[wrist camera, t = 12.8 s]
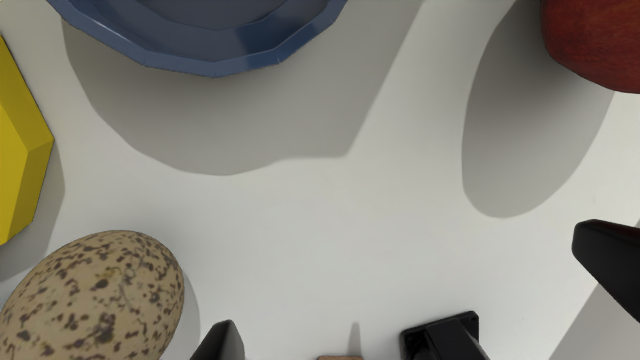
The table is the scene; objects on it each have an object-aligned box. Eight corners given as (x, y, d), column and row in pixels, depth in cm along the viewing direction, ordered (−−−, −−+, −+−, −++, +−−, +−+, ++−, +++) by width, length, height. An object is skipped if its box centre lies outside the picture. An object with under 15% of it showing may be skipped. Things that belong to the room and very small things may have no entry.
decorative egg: (189, 200, 19) (112, 345, 9) (205, 294, 21) (158, 476, 12) (56, 209, 18) (-172, 379, 9) (91, 306, 20) (-53, 513, 11)
